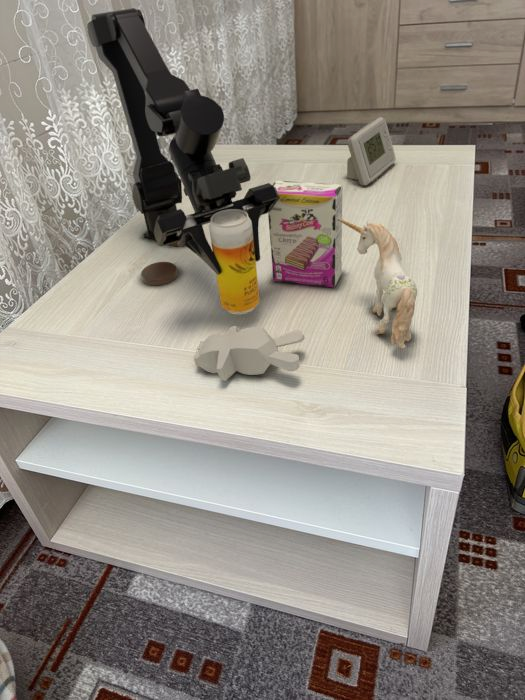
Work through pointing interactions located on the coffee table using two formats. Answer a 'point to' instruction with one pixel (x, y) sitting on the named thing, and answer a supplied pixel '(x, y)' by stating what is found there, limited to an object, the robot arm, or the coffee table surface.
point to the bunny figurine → (246, 352)
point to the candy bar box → (306, 233)
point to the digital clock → (370, 152)
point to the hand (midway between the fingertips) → (239, 267)
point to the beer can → (235, 260)
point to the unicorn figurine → (389, 281)
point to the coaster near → (159, 273)
